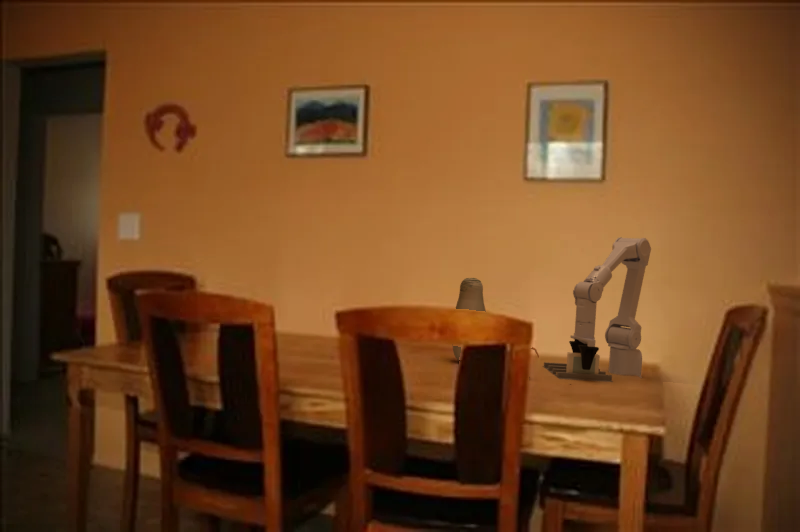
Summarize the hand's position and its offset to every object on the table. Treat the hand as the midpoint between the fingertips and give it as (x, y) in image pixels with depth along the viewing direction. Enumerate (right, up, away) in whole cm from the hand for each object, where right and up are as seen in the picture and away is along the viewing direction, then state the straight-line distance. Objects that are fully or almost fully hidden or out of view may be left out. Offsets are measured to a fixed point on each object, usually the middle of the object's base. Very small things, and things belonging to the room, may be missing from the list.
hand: (582, 367), depth 188 cm
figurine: (-19, -3, -6) cm, 20 cm away
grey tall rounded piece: (-33, -2, +19) cm, 38 cm away
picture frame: (0, -3, 0) cm, 3 cm away
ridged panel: (0, -4, +5) cm, 7 cm away
